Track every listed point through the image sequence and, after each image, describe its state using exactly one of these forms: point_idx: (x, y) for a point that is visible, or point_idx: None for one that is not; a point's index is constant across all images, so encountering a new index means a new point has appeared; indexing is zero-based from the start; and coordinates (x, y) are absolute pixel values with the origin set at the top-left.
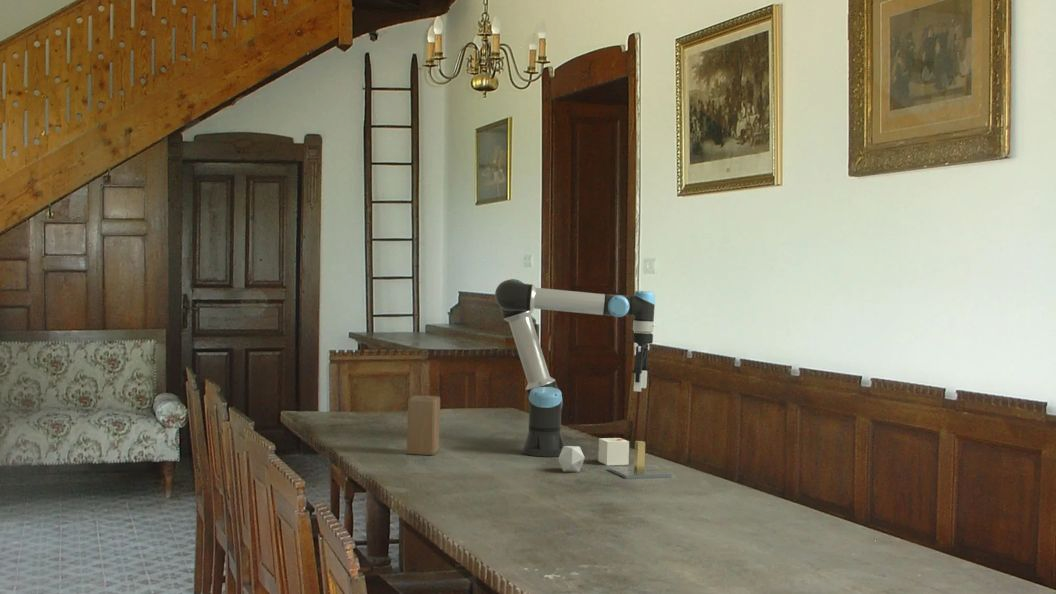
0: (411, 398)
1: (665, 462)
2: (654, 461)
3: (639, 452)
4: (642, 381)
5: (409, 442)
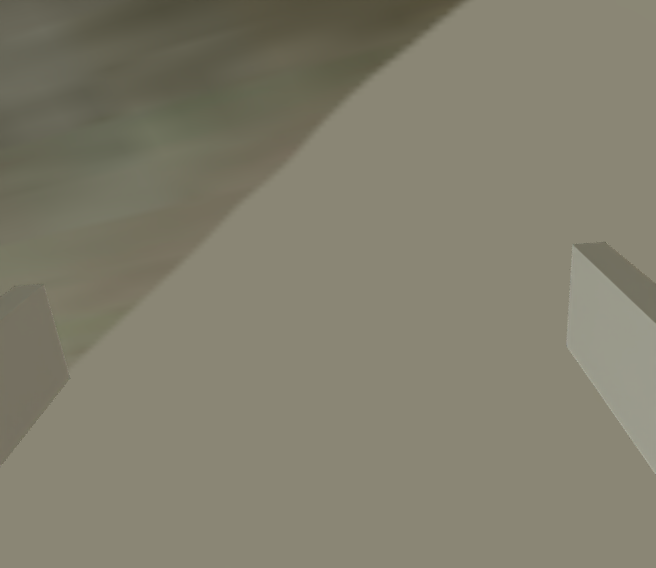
0: None
1: None
2: None
3: None
4: (608, 337)
5: None
